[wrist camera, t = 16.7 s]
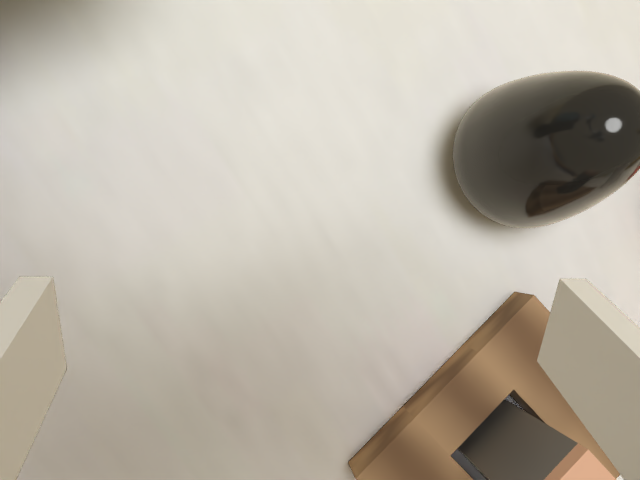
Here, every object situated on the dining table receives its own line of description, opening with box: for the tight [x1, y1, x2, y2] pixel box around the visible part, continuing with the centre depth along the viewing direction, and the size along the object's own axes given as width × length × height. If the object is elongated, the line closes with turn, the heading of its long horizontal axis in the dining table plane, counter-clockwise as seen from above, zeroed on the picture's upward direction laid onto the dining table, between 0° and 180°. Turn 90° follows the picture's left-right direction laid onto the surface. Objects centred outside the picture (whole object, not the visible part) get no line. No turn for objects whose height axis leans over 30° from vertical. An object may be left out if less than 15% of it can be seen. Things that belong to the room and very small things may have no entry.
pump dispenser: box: [453, 71, 640, 228], centre depth 36 cm, size 10×10×15 cm
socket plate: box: [348, 292, 620, 480], centre depth 42 cm, size 18×14×3 cm
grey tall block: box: [457, 399, 616, 480], centre depth 38 cm, size 5×5×12 cm
